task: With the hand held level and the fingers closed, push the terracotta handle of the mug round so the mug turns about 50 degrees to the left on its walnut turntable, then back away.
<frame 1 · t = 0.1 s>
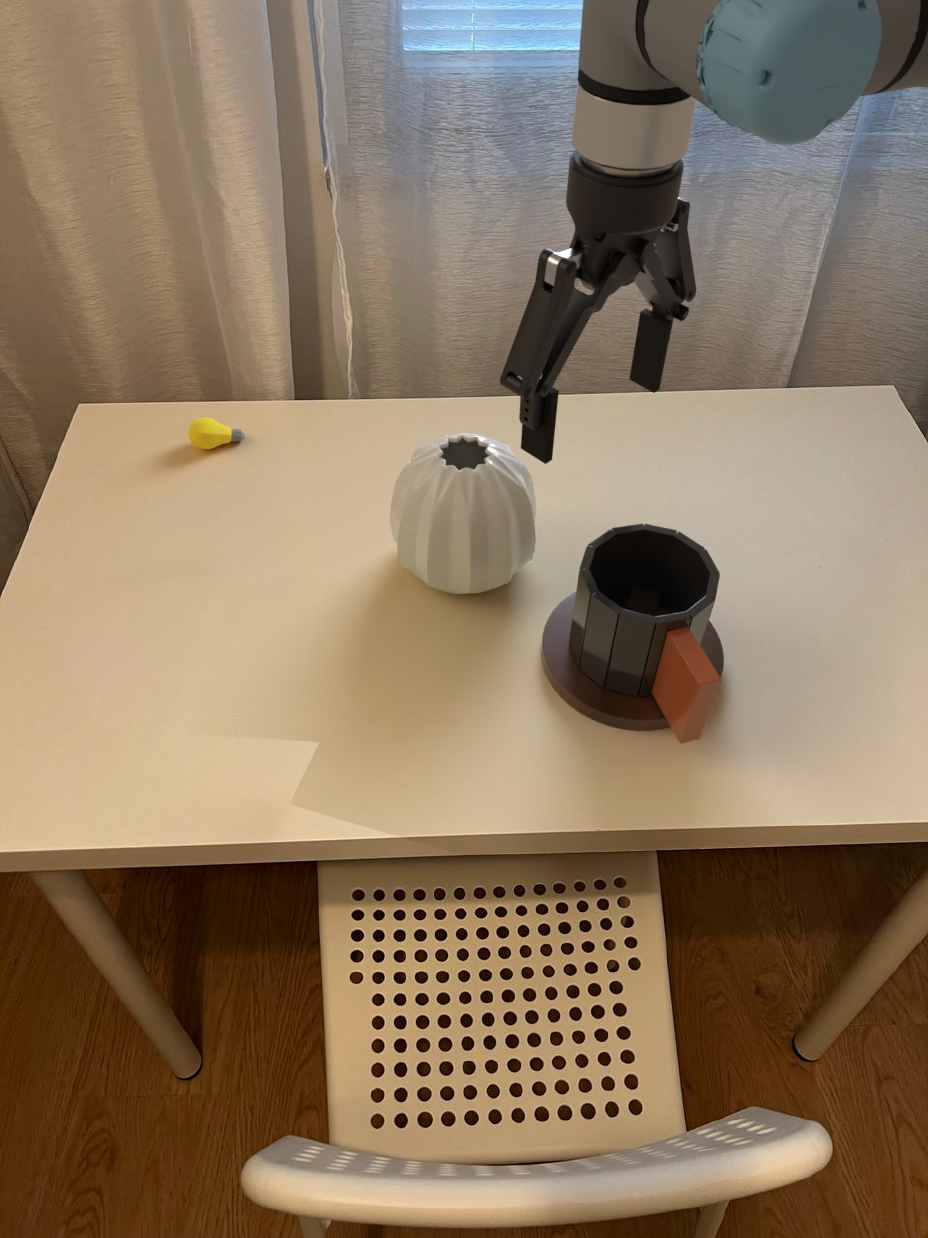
hand: (592, 418, 78), 18 cm above the table, tool pointing down, fingers open, 13 cm apart
light bulb: (219, 445, 104), on the table
turntable: (630, 656, 84), on the table
vase: (462, 561, 92), on the table
mug: (645, 629, 78), point 6 cm above the table, hinge at 0.0°
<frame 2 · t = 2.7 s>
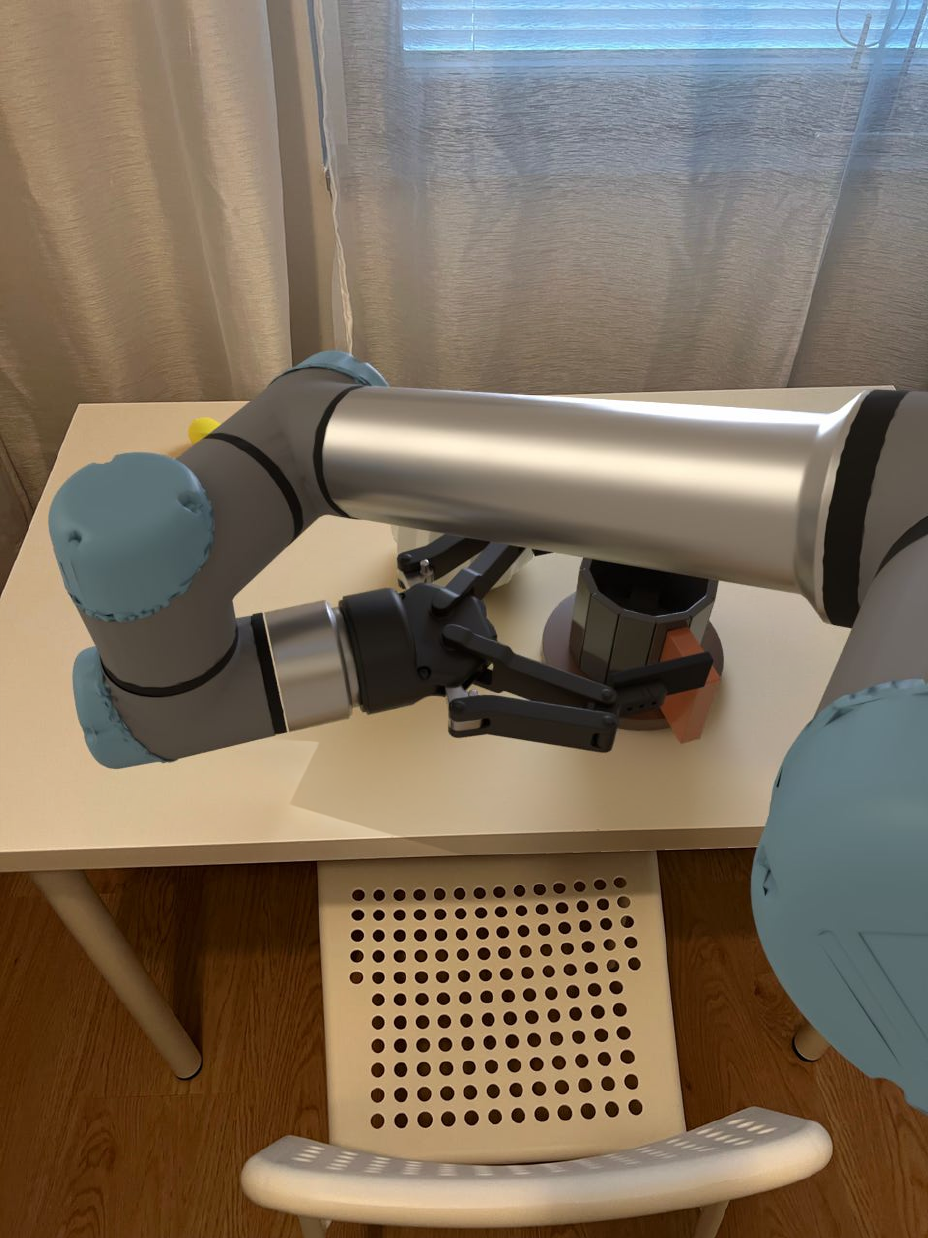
hand: (661, 590, 62), 20 cm above the table, tool horizontal, fingers open, 13 cm apart
nothing on the table moved.
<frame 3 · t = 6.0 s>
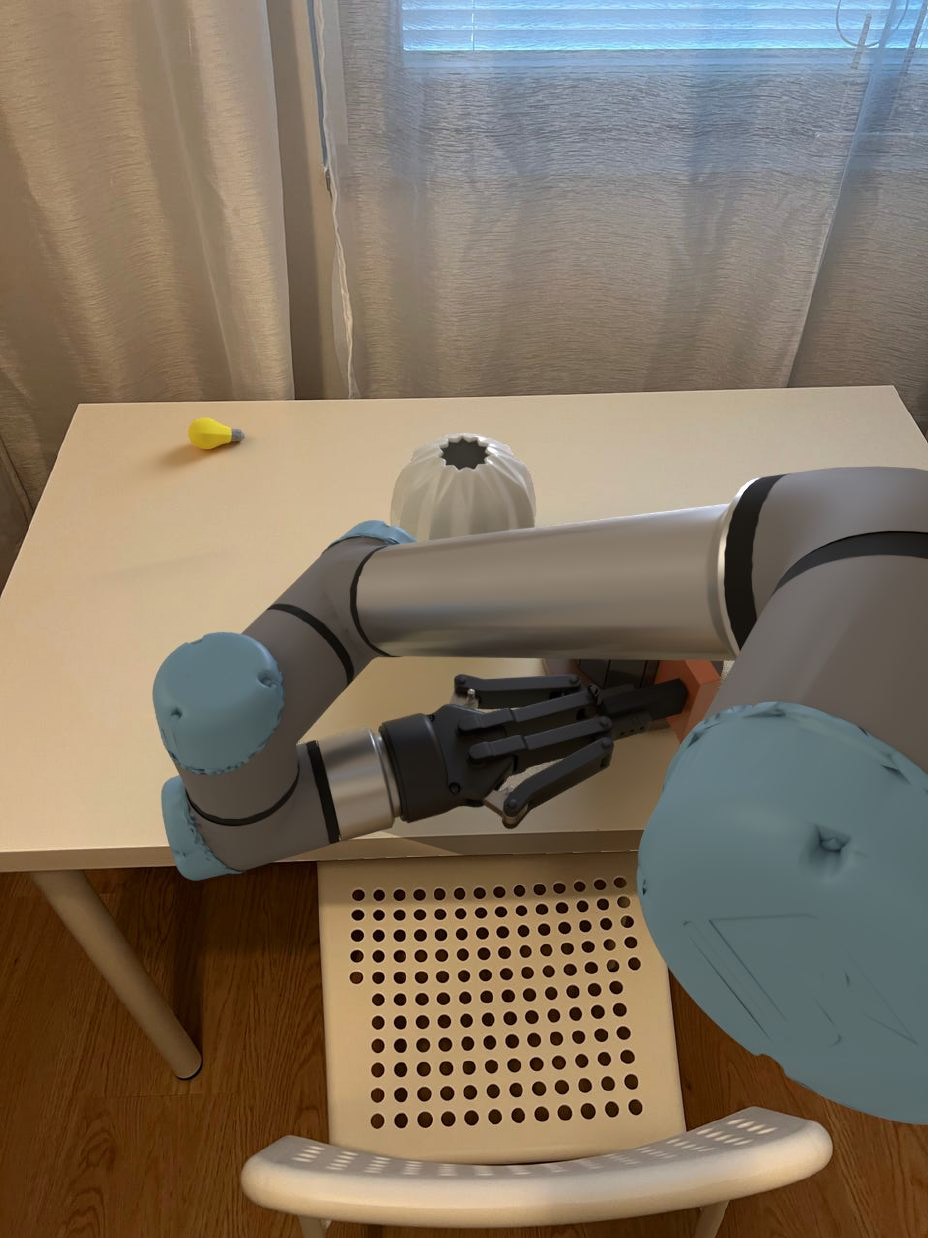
hand: (680, 695, 73), 7 cm above the table, tool horizontal, fingers closed
mug: (645, 629, 78), point 6 cm above the table, hinge at 0.1°, touching gripper
everything else where it was.
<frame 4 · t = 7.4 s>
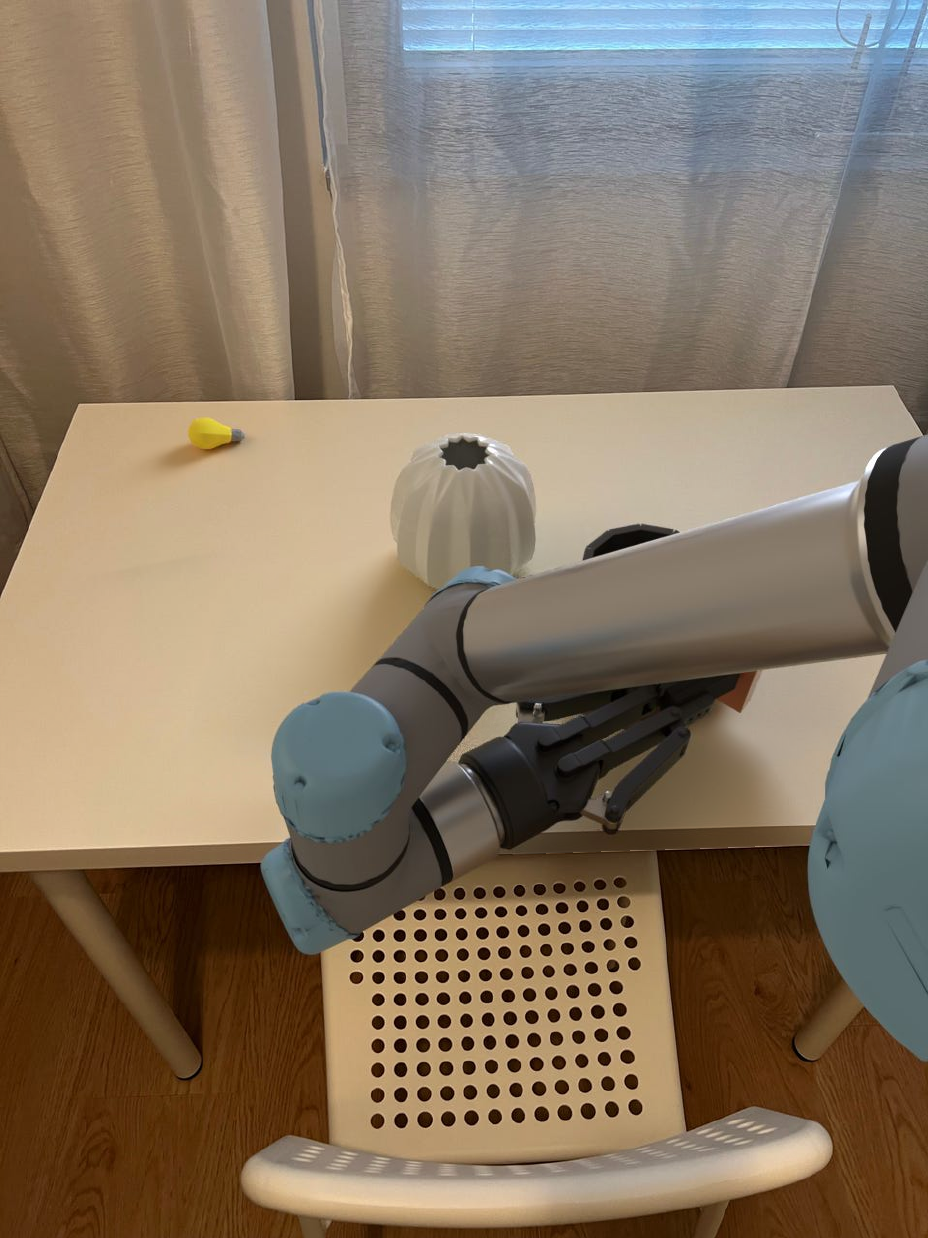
hand: (732, 672, 75), 7 cm above the table, tool horizontal, fingers closed
mug: (658, 625, 78), point 6 cm above the table, hinge at 33.0°, touching gripper
everything else where it was.
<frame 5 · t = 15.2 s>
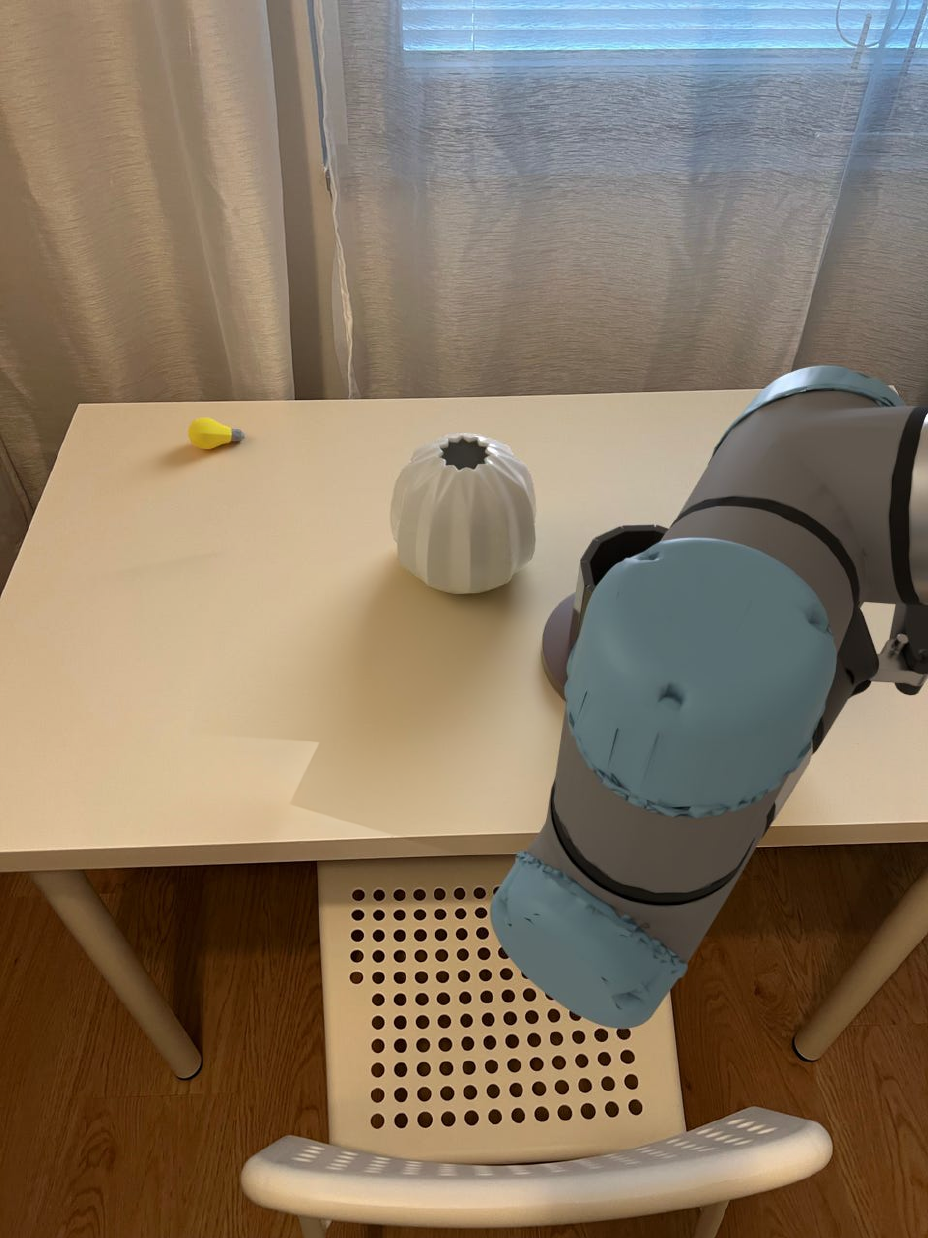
hand: (916, 456, 56), 30 cm above the table, tool horizontal, fingers closed
mug: (663, 621, 79), point 6 cm above the table, hinge at 49.9°
everything else where it was.
at the end: mug at +50° (first picture: +0°); the gripper is holding nothing; light bulb moved 0.2 cm from its start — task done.
